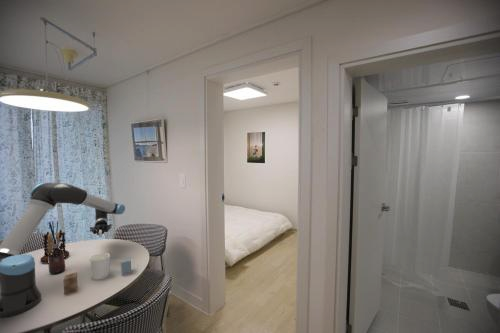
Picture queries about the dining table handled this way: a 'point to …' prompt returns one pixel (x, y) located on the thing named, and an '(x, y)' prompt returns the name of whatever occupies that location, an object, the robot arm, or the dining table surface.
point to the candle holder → (100, 265)
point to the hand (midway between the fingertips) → (100, 234)
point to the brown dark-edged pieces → (50, 244)
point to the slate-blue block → (125, 266)
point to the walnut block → (70, 283)
